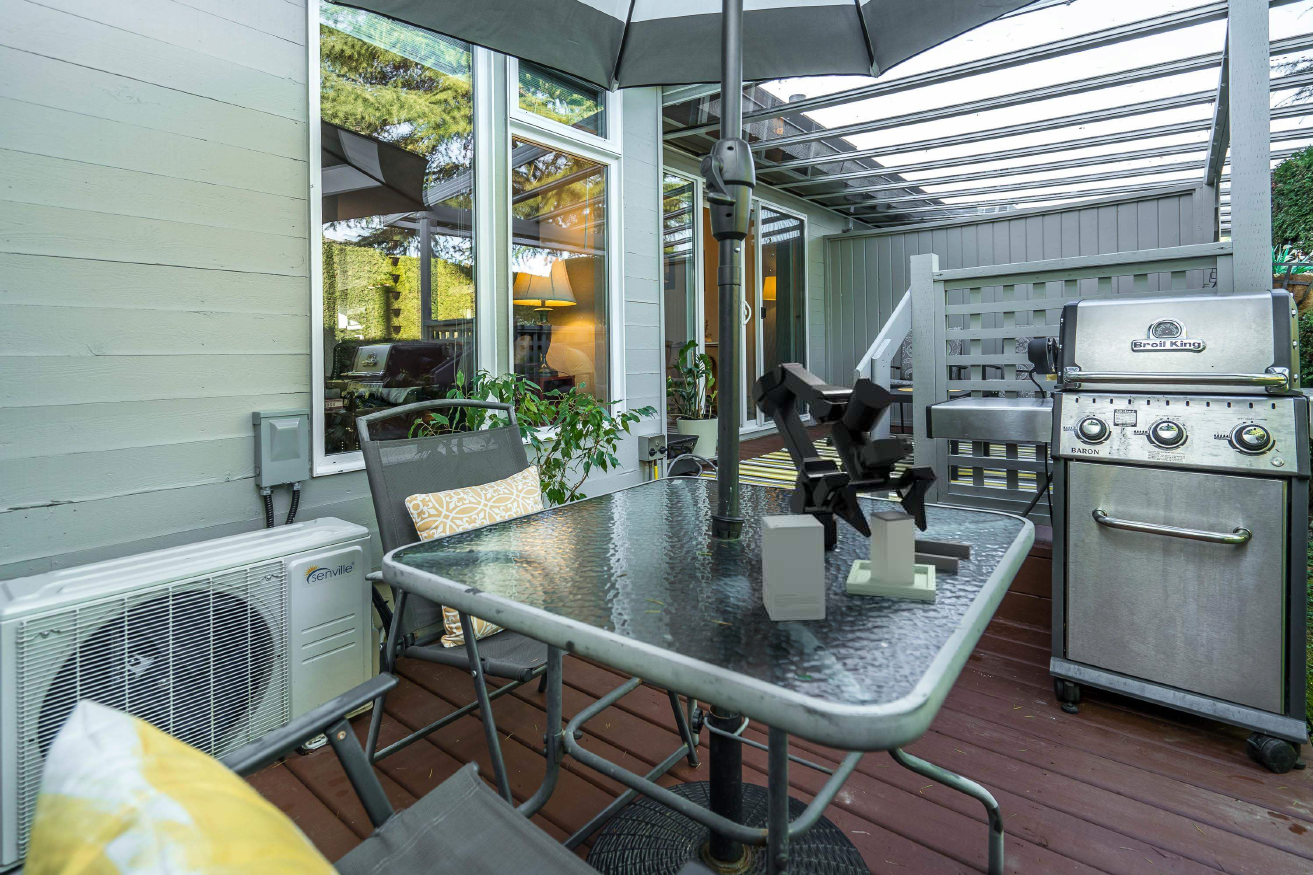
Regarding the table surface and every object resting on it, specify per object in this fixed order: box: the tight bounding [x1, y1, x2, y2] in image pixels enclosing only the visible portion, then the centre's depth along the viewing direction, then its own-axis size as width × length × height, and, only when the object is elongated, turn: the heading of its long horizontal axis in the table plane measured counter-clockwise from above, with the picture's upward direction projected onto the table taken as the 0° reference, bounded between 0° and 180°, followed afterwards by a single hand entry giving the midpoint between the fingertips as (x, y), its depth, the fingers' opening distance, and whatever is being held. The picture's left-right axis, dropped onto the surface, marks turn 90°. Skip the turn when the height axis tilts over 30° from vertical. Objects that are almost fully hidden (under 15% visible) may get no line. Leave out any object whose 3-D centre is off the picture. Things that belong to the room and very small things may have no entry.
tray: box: [845, 559, 937, 602], centre depth 99 cm, size 12×12×2 cm
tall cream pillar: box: [869, 509, 916, 585], centre depth 99 cm, size 4×4×10 cm
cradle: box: [915, 537, 971, 573], centre depth 110 cm, size 10×10×2 cm
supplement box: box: [760, 514, 826, 622], centre depth 89 cm, size 7×7×13 cm
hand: (897, 533), depth 97 cm, fingers open, 9 cm apart
